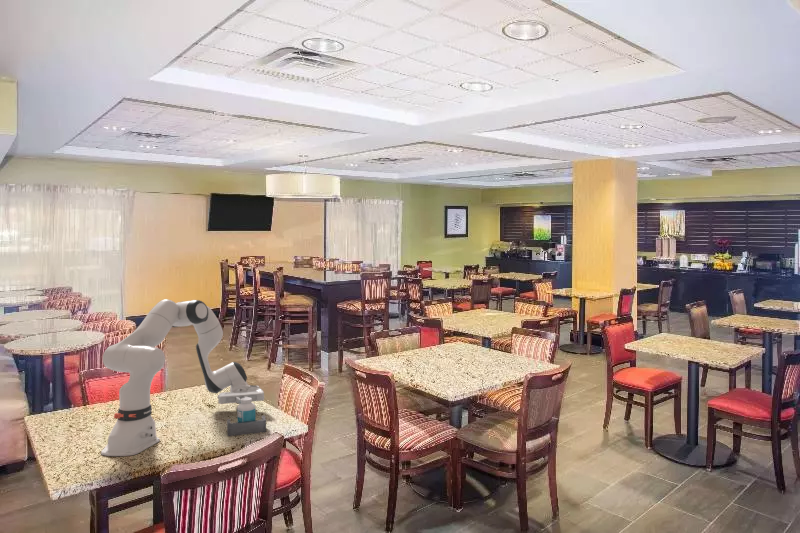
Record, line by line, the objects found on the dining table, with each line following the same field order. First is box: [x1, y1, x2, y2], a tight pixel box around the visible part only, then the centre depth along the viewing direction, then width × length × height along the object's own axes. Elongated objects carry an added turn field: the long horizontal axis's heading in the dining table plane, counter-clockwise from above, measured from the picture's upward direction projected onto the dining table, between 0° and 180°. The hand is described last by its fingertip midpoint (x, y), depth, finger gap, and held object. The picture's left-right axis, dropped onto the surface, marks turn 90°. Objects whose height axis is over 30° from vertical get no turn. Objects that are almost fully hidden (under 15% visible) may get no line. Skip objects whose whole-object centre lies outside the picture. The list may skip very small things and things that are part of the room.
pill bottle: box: [236, 397, 257, 422], centre depth 237 cm, size 8×7×14 cm
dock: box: [226, 415, 267, 437], centre depth 235 cm, size 7×15×5 cm, turn 109°
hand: (242, 401), depth 250 cm, fingers closed
